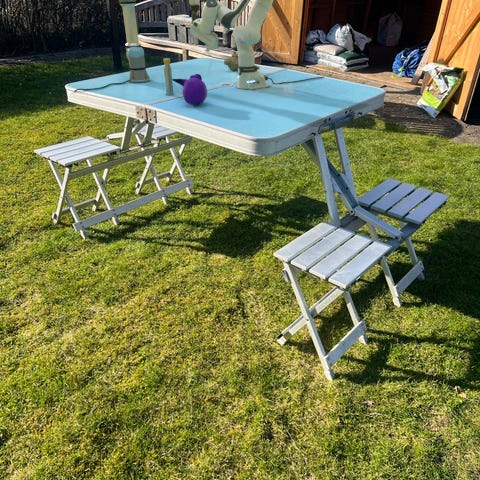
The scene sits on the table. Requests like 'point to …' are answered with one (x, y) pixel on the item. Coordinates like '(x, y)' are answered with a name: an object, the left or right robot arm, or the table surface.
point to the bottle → (168, 79)
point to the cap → (166, 60)
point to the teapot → (232, 62)
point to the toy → (193, 89)
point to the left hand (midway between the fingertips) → (196, 35)
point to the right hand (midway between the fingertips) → (201, 47)
